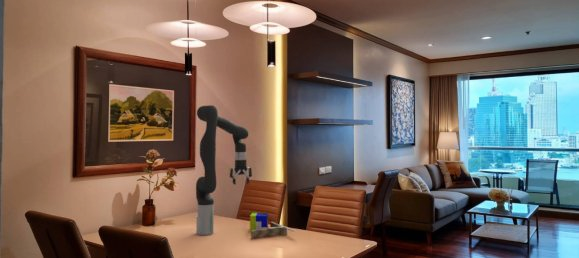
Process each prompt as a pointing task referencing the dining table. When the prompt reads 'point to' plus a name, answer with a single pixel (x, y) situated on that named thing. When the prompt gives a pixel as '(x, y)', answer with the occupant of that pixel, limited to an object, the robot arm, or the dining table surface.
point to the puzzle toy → (258, 221)
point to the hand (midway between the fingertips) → (240, 183)
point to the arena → (270, 231)
